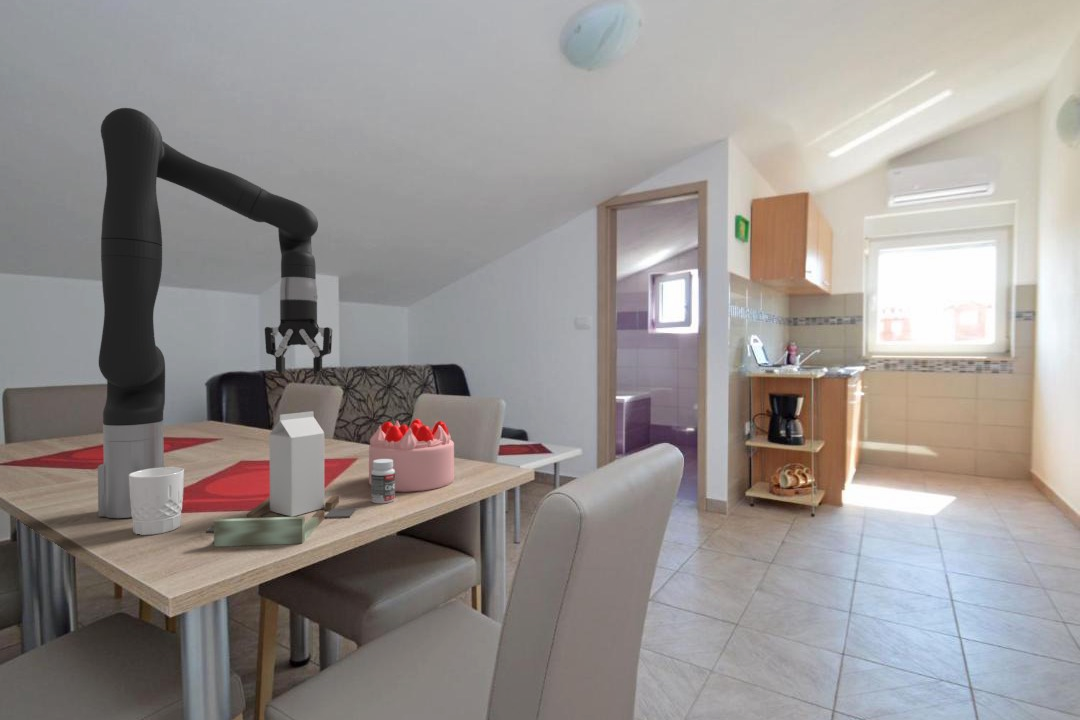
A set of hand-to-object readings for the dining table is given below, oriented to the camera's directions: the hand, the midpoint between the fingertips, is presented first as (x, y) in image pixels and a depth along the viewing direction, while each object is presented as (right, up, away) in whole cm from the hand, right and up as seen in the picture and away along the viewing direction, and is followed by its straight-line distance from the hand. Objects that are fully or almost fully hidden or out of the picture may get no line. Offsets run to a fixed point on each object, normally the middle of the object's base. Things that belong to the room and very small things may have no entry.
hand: (299, 373), depth 120 cm
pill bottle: (+21, -26, -8) cm, 35 cm away
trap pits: (+7, -26, -22) cm, 35 cm away
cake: (+23, -26, +8) cm, 36 cm away
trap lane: (+7, -26, -22) cm, 35 cm away
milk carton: (+6, -26, -15) cm, 31 cm away
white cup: (-13, -27, -26) cm, 39 cm away
